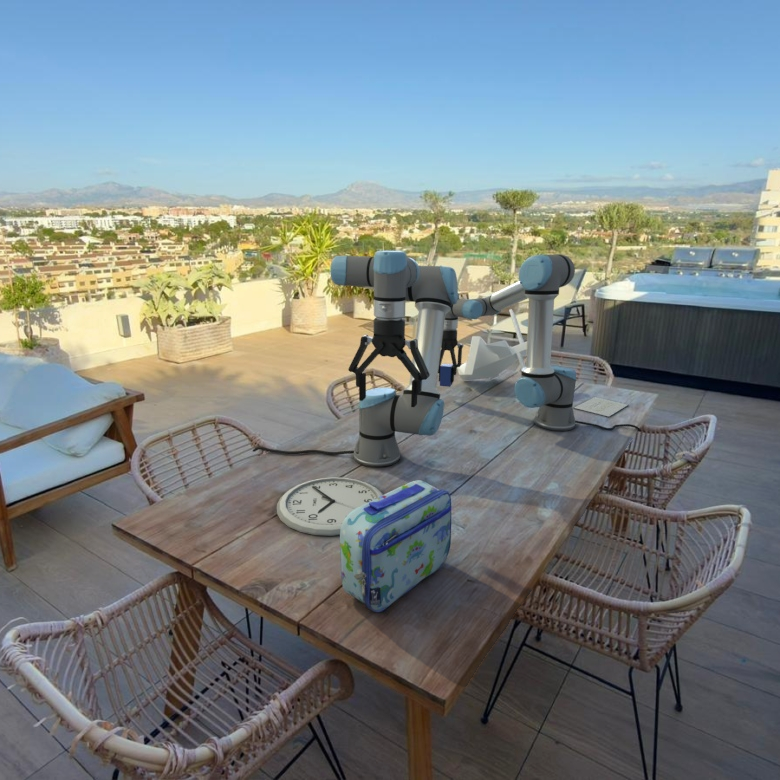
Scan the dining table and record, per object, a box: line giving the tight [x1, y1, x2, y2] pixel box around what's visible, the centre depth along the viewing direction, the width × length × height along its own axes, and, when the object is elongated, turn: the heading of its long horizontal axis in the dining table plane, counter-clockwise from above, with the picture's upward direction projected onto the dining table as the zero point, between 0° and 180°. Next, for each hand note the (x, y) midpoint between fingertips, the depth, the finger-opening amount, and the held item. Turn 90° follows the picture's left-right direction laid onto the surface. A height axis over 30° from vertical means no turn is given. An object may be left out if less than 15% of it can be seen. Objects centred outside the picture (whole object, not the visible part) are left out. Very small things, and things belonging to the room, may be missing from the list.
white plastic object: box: [457, 308, 527, 381], centre depth 252 cm, size 37×45×31 cm
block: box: [439, 363, 453, 388], centre depth 229 cm, size 5×5×9 cm
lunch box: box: [339, 479, 452, 613], centre depth 109 cm, size 26×11×21 cm, turn 134°
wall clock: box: [276, 476, 385, 537], centre depth 142 cm, size 30×2×30 cm
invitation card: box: [573, 396, 629, 418], centre depth 226 cm, size 21×1×15 cm
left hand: (387, 402), depth 131 cm, fingers open, 13 cm apart
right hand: (446, 381), depth 230 cm, fingers closed on block, 5 cm apart
